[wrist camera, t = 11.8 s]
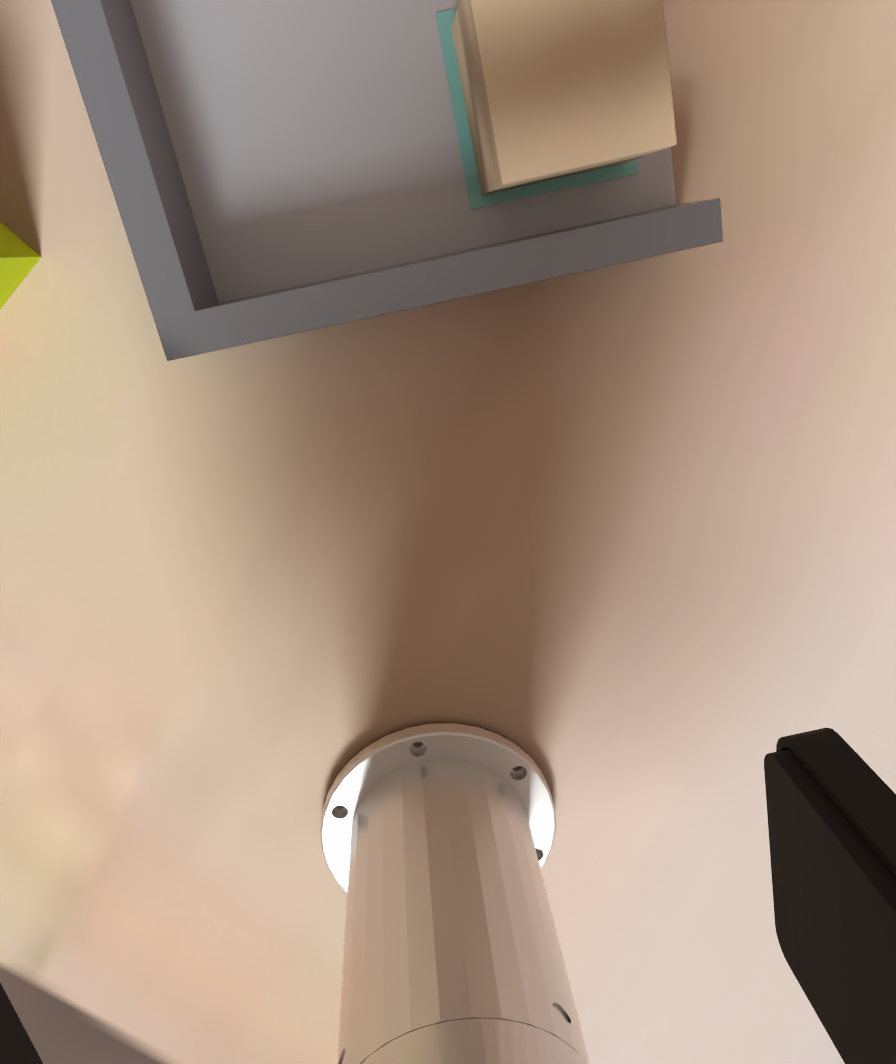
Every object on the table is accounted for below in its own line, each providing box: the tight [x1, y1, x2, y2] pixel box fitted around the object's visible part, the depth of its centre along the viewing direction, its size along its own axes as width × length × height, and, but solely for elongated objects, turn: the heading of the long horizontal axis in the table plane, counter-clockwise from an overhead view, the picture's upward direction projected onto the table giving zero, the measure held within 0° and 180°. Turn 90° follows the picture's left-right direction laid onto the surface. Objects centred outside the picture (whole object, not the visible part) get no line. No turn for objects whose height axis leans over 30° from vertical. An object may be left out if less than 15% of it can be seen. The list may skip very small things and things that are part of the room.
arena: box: [51, 0, 723, 361], centre depth 28 cm, size 18×21×5 cm
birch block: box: [451, 0, 677, 196], centre depth 28 cm, size 6×6×6 cm
